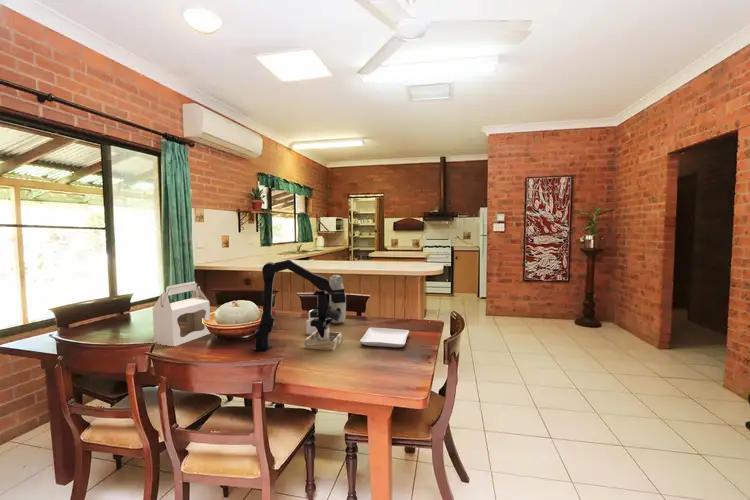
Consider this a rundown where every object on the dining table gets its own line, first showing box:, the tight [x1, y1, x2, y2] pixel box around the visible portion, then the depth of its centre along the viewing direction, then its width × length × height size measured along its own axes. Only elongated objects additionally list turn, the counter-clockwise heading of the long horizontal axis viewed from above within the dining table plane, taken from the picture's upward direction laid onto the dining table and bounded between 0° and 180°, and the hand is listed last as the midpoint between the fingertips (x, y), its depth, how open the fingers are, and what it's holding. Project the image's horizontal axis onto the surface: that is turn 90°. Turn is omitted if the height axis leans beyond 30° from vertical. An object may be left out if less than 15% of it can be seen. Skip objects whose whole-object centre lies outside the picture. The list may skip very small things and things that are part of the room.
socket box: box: [303, 331, 343, 351], centre depth 166 cm, size 14×14×4 cm
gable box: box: [152, 280, 211, 347], centre depth 175 cm, size 22×13×28 cm, turn 158°
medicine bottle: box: [305, 308, 318, 335], centre depth 184 cm, size 7×7×12 cm
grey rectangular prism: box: [319, 324, 330, 340], centre depth 166 cm, size 4×4×8 cm
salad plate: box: [359, 327, 410, 348], centre depth 170 cm, size 21×21×3 cm
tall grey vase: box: [329, 274, 347, 325], centre depth 200 cm, size 10×10×28 cm
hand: (323, 336), depth 166 cm, fingers closed on grey rectangular prism, 4 cm apart
